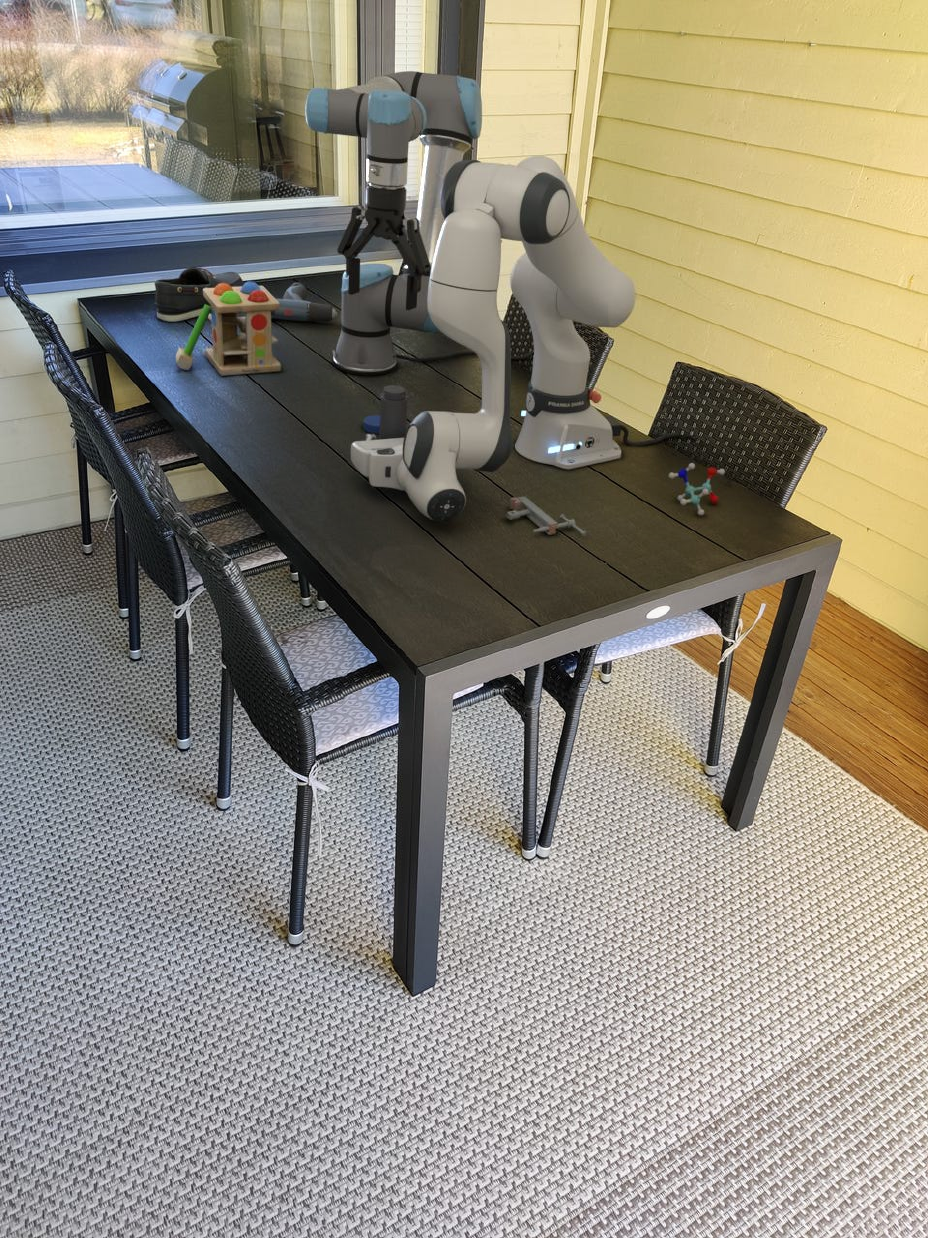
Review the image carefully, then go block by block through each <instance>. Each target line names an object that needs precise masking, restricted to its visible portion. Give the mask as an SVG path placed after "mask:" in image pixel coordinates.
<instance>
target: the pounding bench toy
mask: <svg viewBox="0 0 928 1238" xmlns="http://www.w3.org/2000/svg"><path fill="white" fill-rule="evenodd" d="M203 296H204V297H205V299H206V300H207V301H208V302H209V304H210V305H211V307H210V306H208V305H204V307H203V309H202V311H201V314H200V316H198V318H197V320H196V322H195V324H194V327H193V329H192V331H191V332H190V333H191V334H190V336H189V338H188V340H187V343H186V344H185V347H184V348H182V347H180V346H179V347H178V349H177V351H176V354H175V357H174V358H175V362H176V365H177V366H178V368H179V369H182V370H185V371H189V370H190V369H191V367H192V365H193V363H194V356H193V351H194V348H195V347H196V345H197V342H198V340H199V337H200V336H201V333H202V332H203V329H204V326H205V325H206V322H207V320H209V321H210V322H211V336H212V337H211V338H212V339H211V340H212V348H205V349H204V352H205V353H204V355H205V357H206V359H208V361H209V363H210V364H211V365H212V366H213V367H214V369H215V370H216V371H217V372H218V374H219V375H220V376H222V377H223V376H234V375H235V376H236V375H246V374H247V375H250V374H262V373H275V372H281V370H282V364H281V363H280V362H279V360H278V359H277V358H276V357H275V356H274V355H273V348H272V347H273V345H272V344H276V343H278V342H279V341H278V339H277V338H276V337H275V336H274V334H272V318H271V310H280V303H279V302H278V301H277V300H276V299H277V298H276V297H274V296H273V295H272V294H271V293H270V292H269V290H268V289H267V288H266V287H264V285H259V284H257V283H256V282H255V281H247V282H245V283H243V286H242V287H231V286H230V285H228V284H226V283H221V284H218V285H217V286H216V287H215V288H204V289H203ZM238 313H244V314H245V315H244V316H238ZM238 329H239V331H240V333H239V334H238Z"/></svg>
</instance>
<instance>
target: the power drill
mask: <svg viewBox="0 0 928 1238" xmlns="http://www.w3.org/2000/svg"><path fill="white" fill-rule="evenodd" d="M307 295H308V290H307V287H306V285H304V284H303V283H301V282H293V283H292V284H291V285H290V286H289V287H288V288H287V289H286V291H285V292H284V294H283V297H282V298H275V299H276V300H277V301H278V302H279V303H280V310H271V319H274V320H275V319H276V320H283V321H294V322H295V321H297V322H332V321H333V320H334V319H336V318H337V317H338V312H337V311H336V308H334V307H333V306H332V305H331V304H324V303H317V302H313V301H307V300H305V299H306V297H307Z"/></svg>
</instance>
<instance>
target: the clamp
mask: <svg viewBox="0 0 928 1238" xmlns="http://www.w3.org/2000/svg"><path fill="white" fill-rule="evenodd" d="M509 509H510V511H507V512H506V518H507V519H508V520H510V521H513V520H517V519H519V518H521V517H524V516H525V517H527V518H528V519H529V520H530V521H531V522H532V523H534V524H535V525H536V526H537V527H539V528H536V529H533V530H532V533H533V534H536V533H542V532H545V533H546V534H547V535H548V536H549V535H550V536H551V535H556V533H557V529H562V528H565V527H566V528H573V529H575V530H576V531H577V532H579V533H580V534H581V536H582V537H586V535H587V531H586V530H583V529H581V528H580V527H579V526H577V524H576V520H575V519H573V518H572V519H569V518H567V517H566V516H565V514H563V513H562V514H561V515H560V516H559V519H560V520H563V521H564V522H560V523H558V522H557V521H556V520H555V519H553V518H552V517H551V516H550V515H549V514H548V513H546V512H545V511H543V509H541V508H540V507H538V506H537V505H536V504H535V503H534V502H532V501H531V500H530V499H529V498H527V496H520V497H519V496H518V497H517V496H516V497H515V496H514V497H511V498H510V503H509Z"/></svg>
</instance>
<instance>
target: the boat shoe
mask: <svg viewBox="0 0 928 1238" xmlns="http://www.w3.org/2000/svg"><path fill="white" fill-rule="evenodd" d="M221 283H226V284H228V285H230V286H231V287H242V286H243V285H244V280H243V278H242V277H241V275H240V274H239V273H238V272H235V271H227V272H221V273H216V274H213V273H211V271H209V270H208V269H206V268H203V267H197V266H195V265H193V266H190V267H187V268H186V269H184V270H183V271H182V272H181V273H180V274H179V276H178V277H176V278H175V277H174V278H161V279H156V280H154V287H155V298H154V299H155V302H154V303H153V305H154V306H155V307H156V308H157V309H156V317H157V319H159V320H161V321H164V322H171V323H172V322H181V321H185V320H189V319H192V318H196V317H199V316H200V314H201V311H202V309H203V307H204V305H208V306H210V307H211V305H210V304H209V302H208V301H207V300H206V299H205V297H204V296H203V289H204V288H215V287H216V286H217V285H218V284H221Z"/></svg>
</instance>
